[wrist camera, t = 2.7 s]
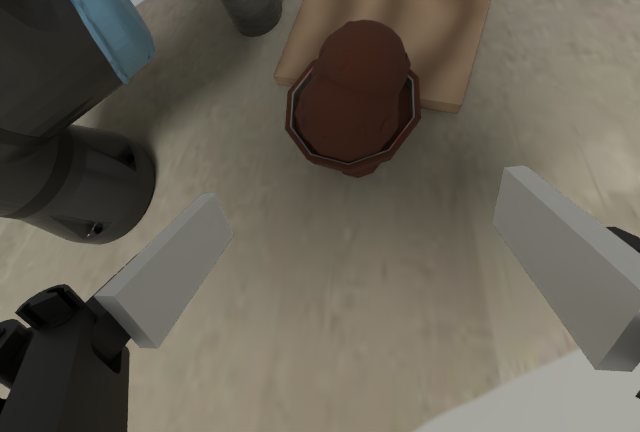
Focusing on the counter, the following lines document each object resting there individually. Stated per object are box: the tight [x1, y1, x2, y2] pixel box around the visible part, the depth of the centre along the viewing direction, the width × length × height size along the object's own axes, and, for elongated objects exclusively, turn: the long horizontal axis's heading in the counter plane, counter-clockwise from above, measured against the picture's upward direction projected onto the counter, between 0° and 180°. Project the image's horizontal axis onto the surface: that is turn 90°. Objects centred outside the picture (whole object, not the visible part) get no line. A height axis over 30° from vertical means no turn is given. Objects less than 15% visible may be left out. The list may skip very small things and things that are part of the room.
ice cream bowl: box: [285, 19, 421, 178], centre depth 23 cm, size 11×11×15 cm
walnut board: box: [274, 0, 491, 113], centre depth 32 cm, size 22×14×2 cm, turn 71°
